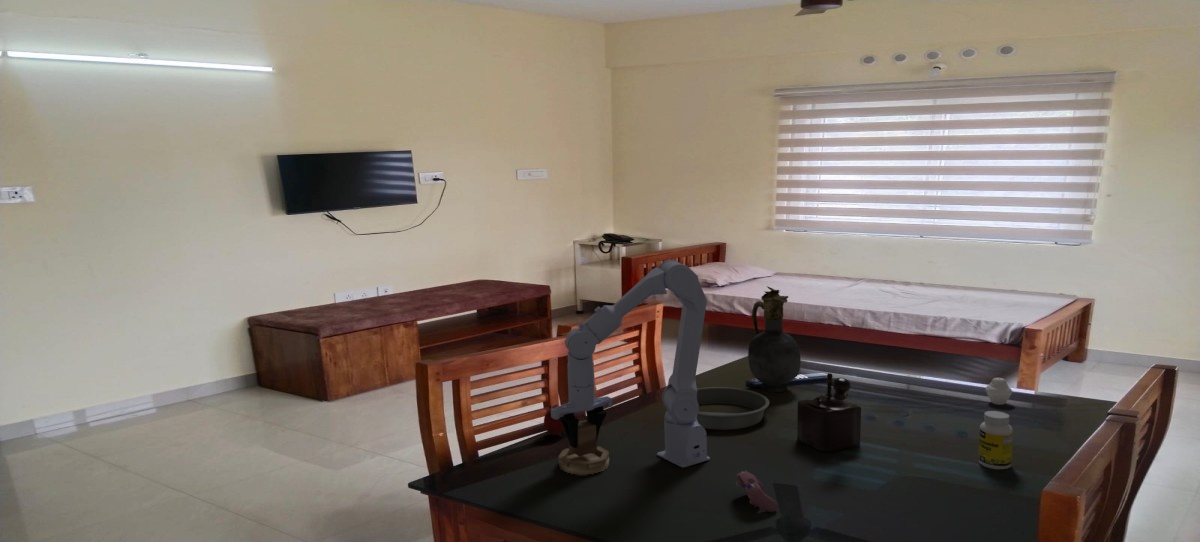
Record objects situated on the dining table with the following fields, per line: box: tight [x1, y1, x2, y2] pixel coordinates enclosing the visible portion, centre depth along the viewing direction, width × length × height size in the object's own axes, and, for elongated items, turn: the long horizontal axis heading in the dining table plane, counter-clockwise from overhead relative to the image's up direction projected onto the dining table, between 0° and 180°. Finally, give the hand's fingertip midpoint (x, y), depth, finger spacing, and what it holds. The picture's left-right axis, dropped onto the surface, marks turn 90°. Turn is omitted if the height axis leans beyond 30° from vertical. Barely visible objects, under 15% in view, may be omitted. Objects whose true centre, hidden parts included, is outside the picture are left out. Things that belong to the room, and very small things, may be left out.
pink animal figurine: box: [735, 470, 778, 513], centre depth 142 cm, size 10×5×7 cm, turn 5°
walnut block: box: [568, 419, 598, 456], centre depth 163 cm, size 4×4×6 cm
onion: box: [543, 403, 565, 437], centre depth 182 cm, size 6×6×8 cm
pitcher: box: [747, 286, 802, 393], centre depth 215 cm, size 11×19×30 cm, turn 19°
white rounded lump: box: [985, 377, 1013, 406], centre depth 196 cm, size 6×6×7 cm
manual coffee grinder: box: [796, 372, 862, 453], centre depth 169 cm, size 16×11×18 cm
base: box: [557, 445, 610, 476], centre depth 163 cm, size 11×11×2 cm
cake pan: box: [697, 386, 770, 430], centre depth 193 cm, size 25×25×4 cm
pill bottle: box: [978, 410, 1014, 471], centre depth 156 cm, size 6×6×11 cm
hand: (583, 443), depth 163 cm, fingers closed on walnut block, 4 cm apart
